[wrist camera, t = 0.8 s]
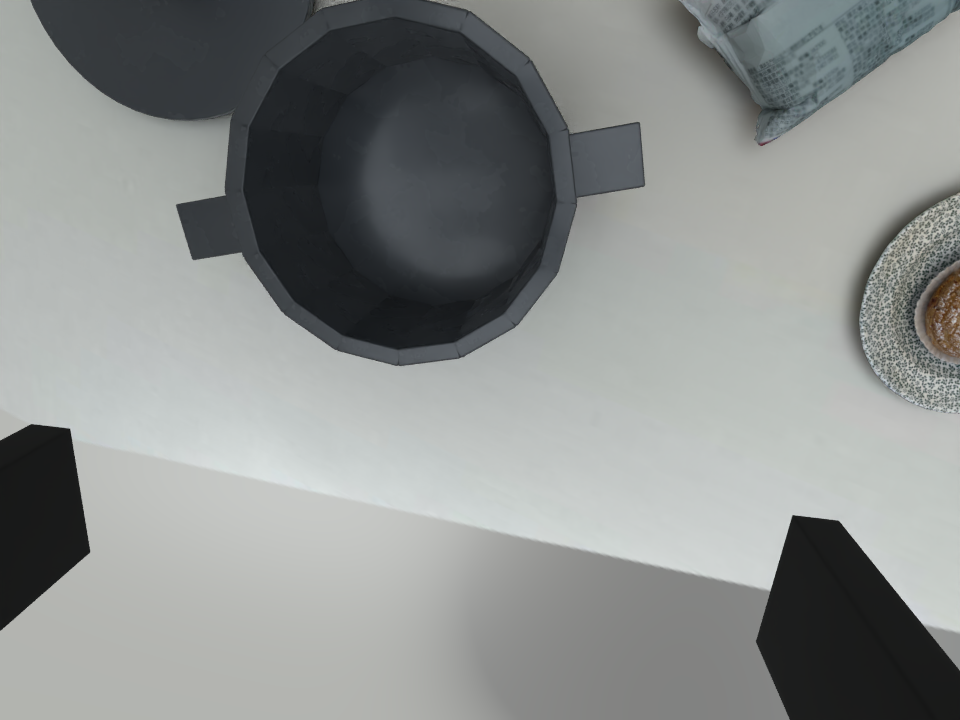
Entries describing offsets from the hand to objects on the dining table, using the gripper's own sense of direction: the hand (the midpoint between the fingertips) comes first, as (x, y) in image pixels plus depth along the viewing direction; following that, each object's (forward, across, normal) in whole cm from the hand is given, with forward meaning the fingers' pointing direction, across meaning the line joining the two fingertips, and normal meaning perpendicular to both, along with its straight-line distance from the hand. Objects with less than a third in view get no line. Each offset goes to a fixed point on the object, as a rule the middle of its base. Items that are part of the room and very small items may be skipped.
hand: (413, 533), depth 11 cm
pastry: (+24, +25, +1) cm, 34 cm away
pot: (+24, -4, +5) cm, 25 cm away
